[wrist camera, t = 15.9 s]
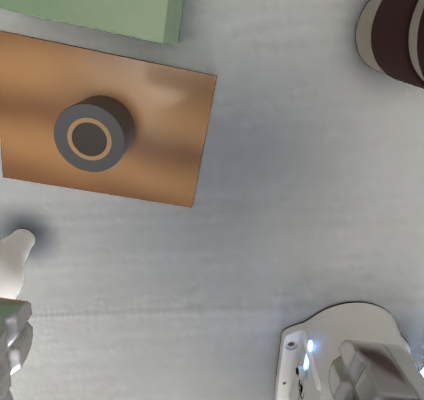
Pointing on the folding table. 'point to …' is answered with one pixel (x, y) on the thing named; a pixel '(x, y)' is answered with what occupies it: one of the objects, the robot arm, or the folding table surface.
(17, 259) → the lightbulb
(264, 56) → the folding table surface
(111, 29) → the shelf
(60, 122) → the tape roll
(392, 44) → the coffee cup
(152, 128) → the copper sheet
